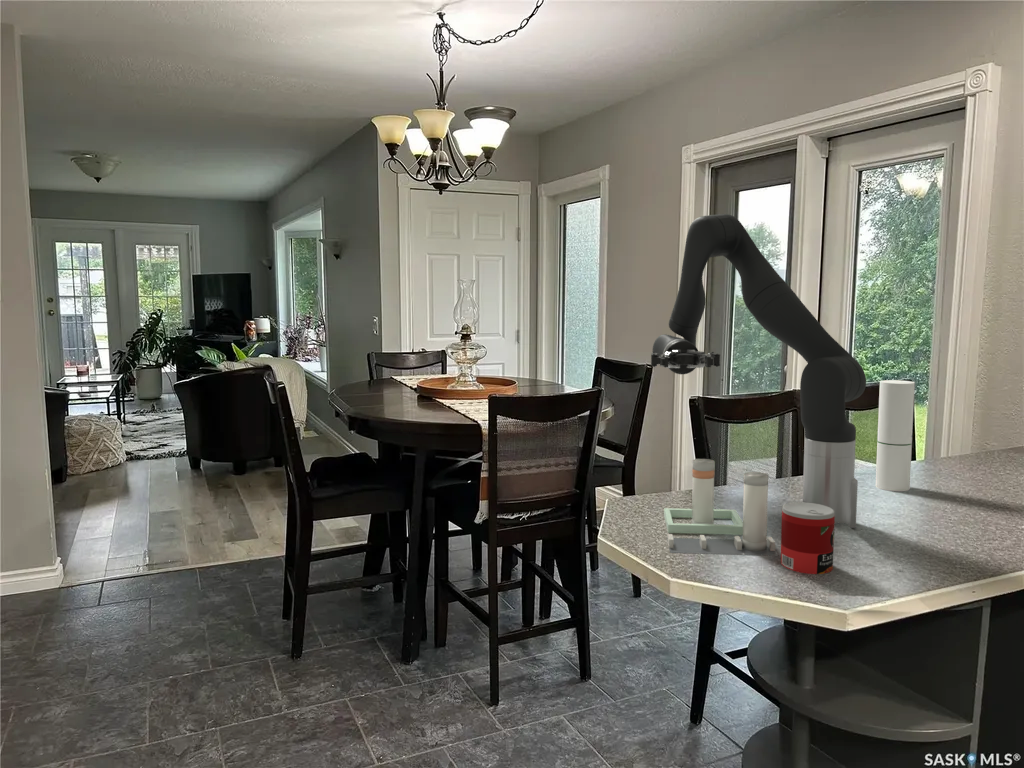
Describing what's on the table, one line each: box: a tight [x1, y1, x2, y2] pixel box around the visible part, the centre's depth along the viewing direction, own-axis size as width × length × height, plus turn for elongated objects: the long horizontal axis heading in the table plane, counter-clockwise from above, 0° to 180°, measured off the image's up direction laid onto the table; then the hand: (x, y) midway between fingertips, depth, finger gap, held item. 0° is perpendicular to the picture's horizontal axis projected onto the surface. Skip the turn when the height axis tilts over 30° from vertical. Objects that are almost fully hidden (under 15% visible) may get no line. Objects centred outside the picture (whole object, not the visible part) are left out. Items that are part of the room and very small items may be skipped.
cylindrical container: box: [875, 379, 916, 492], centre depth 171 cm, size 7×7×25 cm
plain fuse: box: [741, 471, 770, 551], centre depth 127 cm, size 4×4×13 cm
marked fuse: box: [691, 458, 716, 524], centre depth 141 cm, size 4×4×13 cm
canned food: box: [780, 501, 835, 575], centre depth 119 cm, size 8×8×11 cm
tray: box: [663, 507, 743, 536], centre depth 141 cm, size 14×11×3 cm
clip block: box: [666, 533, 779, 557], centre depth 129 cm, size 18×8×3 cm, turn 82°
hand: (687, 362), depth 150 cm, fingers open, 8 cm apart
